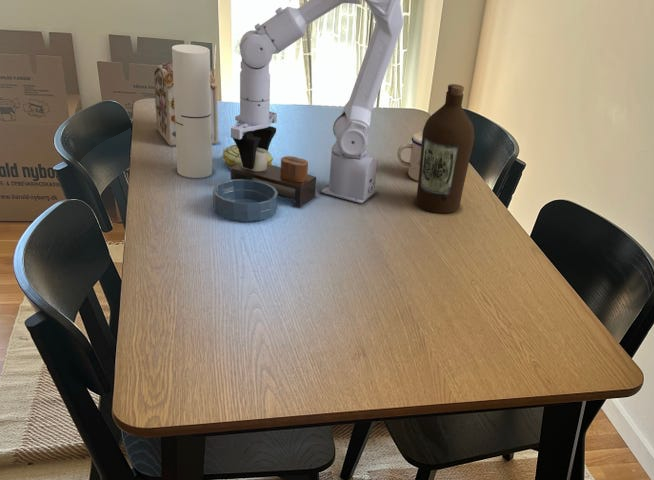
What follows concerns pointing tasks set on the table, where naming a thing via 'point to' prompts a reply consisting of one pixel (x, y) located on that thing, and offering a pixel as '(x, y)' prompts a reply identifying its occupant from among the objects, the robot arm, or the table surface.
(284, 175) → the brown rounded block
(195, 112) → the cylindrical container
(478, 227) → the table surface
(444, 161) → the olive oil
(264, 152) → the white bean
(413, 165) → the teacup with lid
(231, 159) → the decorated donut
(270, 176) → the rack
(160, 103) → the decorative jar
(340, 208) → the table surface
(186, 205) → the table surface
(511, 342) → the table surface
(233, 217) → the bowl
